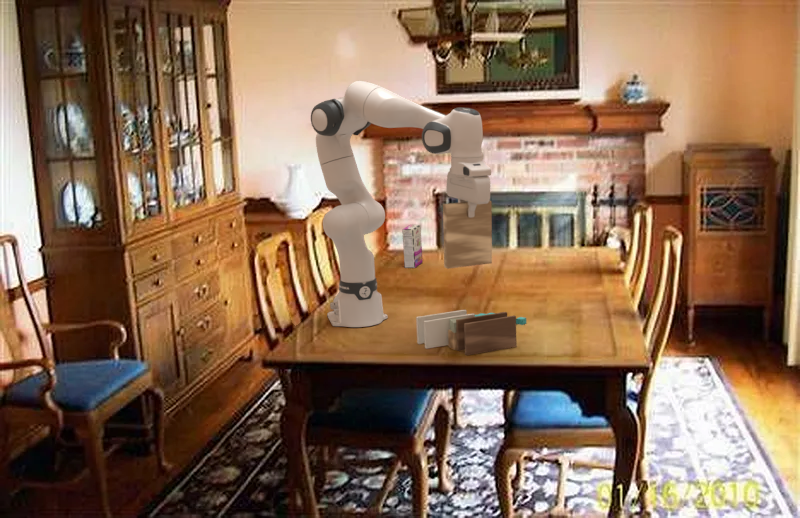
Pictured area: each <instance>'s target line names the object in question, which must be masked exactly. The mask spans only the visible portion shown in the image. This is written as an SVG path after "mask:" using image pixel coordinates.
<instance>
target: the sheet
mask: <svg viewBox="0 0 800 518" xmlns="http://www.w3.org/2000/svg"><path fill="white" fill-rule="evenodd" d="M492 204H493V203H492V200H489V202H488V203H487V204H477V206H476V209H475V216H474V217H467V211H468V207H469V205H468V201H467V202H460V203H458V202H454V203H453V202H451V203H442V208H443V209H442V210H443V211H442V212H443V213H442V214H443V215H442V216H443V218H442V219H443V221H442V222H443V267H444V268H445V269H447V270H448V269H455V268H457V269H458V268H464V267H465V268H466V267H473V266H479V265H480V266H483V265H489V264H493V245H492V243H493V239H492V235H493V234H492V232H493V231H492V230H493V229H492V228H493V227H492V225H493V224H492V221H493V220H492V216H493V215H492V212H493V211H492V210H493V209H492Z"/></svg>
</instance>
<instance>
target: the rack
mask: <svg viewBox="0 0 800 518" xmlns="http://www.w3.org/2000/svg"><path fill="white" fill-rule="evenodd" d="M493 313H494V314H488V313H487V314H488V315H482V316H475V317H469V318H463V319H456V332H457V350H456V351H457V352H458V351H460V352H461V351H464V355H465V356H471V355H477V354H482V353H489V352H495V351H499V350H504V349H505V350H506V349H511V347H512V348H517V324H516V319H517V316H516V315H508V312H507V311H502V312H493Z"/></svg>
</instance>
